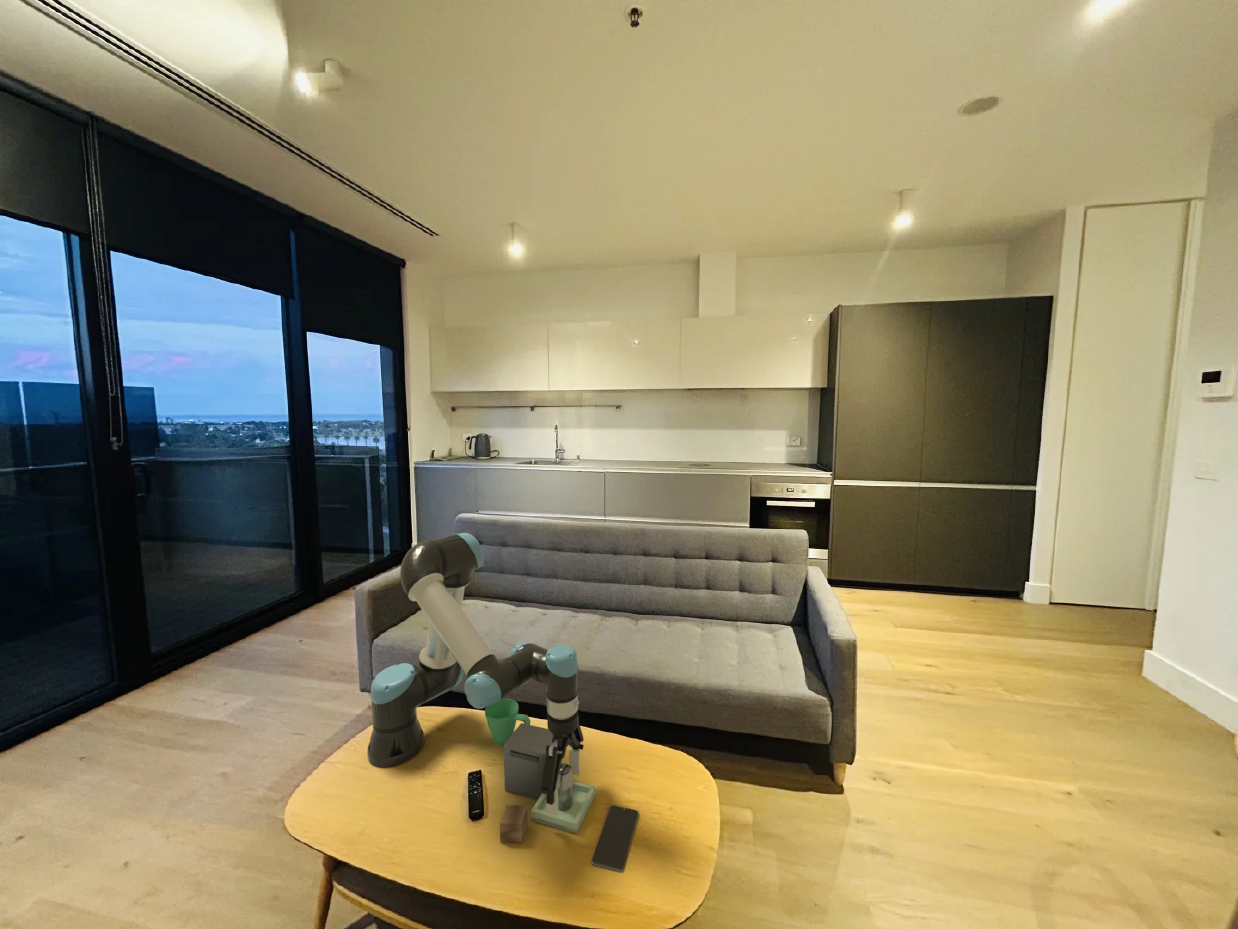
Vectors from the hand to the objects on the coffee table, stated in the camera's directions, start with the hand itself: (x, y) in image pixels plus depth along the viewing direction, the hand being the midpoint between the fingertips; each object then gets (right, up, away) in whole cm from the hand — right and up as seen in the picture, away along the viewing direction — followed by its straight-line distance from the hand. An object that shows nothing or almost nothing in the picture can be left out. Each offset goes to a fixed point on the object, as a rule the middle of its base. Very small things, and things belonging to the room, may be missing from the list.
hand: (564, 792), depth 118 cm
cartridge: (0, -3, 0) cm, 3 cm away
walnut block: (-11, -5, -7) cm, 14 cm away
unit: (-9, -3, +8) cm, 13 cm away
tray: (0, -4, 0) cm, 4 cm away
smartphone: (+13, -5, -8) cm, 16 cm away
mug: (-19, -2, +25) cm, 31 cm away
